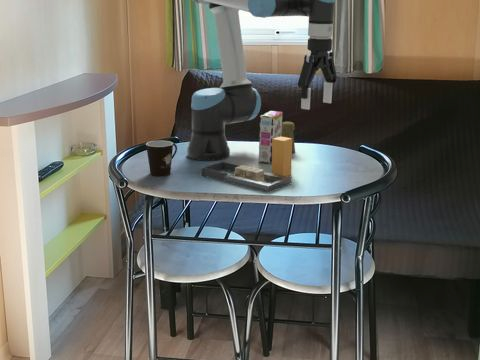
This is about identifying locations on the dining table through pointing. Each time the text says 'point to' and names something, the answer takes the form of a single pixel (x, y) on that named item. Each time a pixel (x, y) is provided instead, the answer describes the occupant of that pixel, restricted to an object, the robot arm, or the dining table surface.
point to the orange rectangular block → (281, 155)
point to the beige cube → (242, 170)
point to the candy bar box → (269, 134)
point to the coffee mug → (160, 157)
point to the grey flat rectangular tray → (258, 185)
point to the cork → (288, 132)
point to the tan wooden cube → (255, 174)
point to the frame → (218, 170)
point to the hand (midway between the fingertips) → (316, 105)
